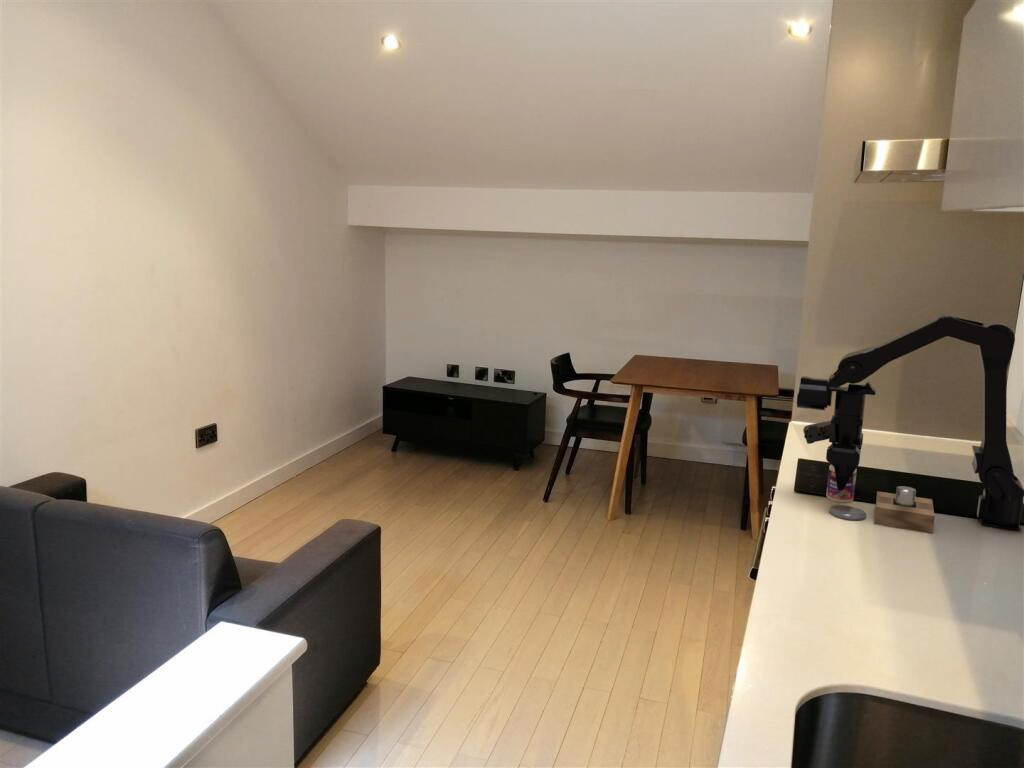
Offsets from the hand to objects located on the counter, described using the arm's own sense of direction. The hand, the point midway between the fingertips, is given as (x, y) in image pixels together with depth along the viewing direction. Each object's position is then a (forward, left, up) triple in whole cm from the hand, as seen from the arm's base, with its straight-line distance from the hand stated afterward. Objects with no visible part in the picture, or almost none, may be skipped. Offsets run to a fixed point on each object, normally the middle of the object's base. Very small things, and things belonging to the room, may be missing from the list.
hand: (841, 483), depth 158 cm
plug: (-12, +7, -3) cm, 14 cm away
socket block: (-12, +7, -4) cm, 14 cm away
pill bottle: (0, 0, -4) cm, 4 cm away
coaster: (-2, +9, -4) cm, 10 cm away
